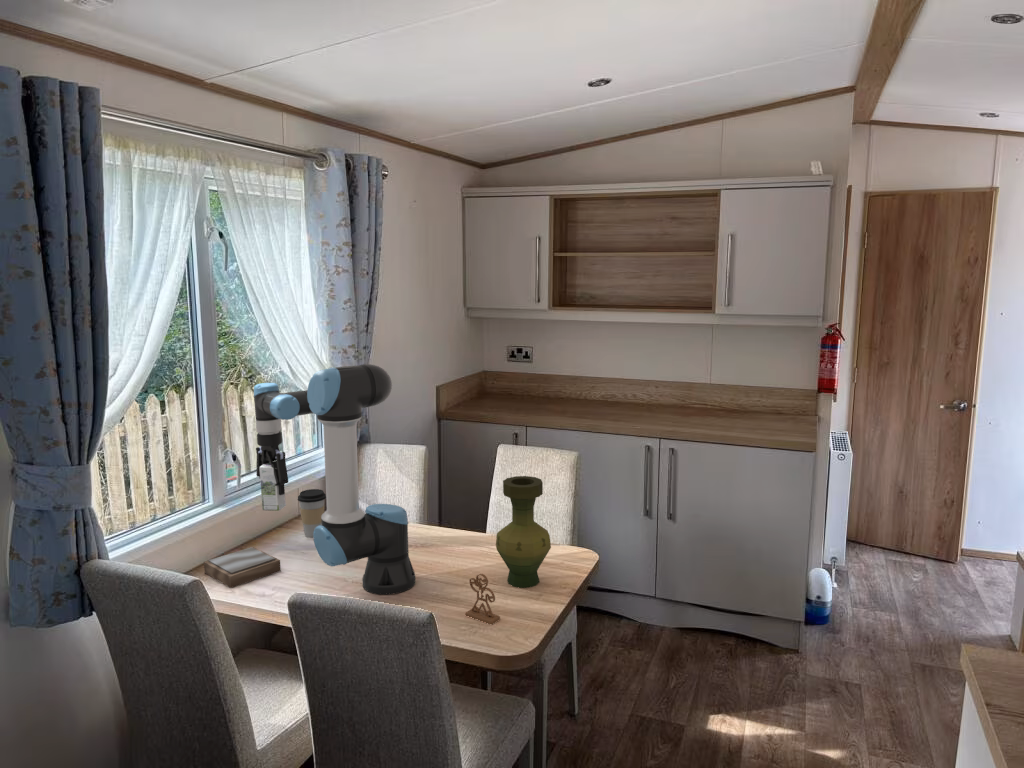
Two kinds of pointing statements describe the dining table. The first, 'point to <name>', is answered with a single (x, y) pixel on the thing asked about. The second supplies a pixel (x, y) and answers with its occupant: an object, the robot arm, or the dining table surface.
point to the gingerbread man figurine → (475, 611)
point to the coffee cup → (311, 509)
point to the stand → (242, 566)
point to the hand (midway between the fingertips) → (273, 501)
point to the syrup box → (268, 488)
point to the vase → (523, 533)
